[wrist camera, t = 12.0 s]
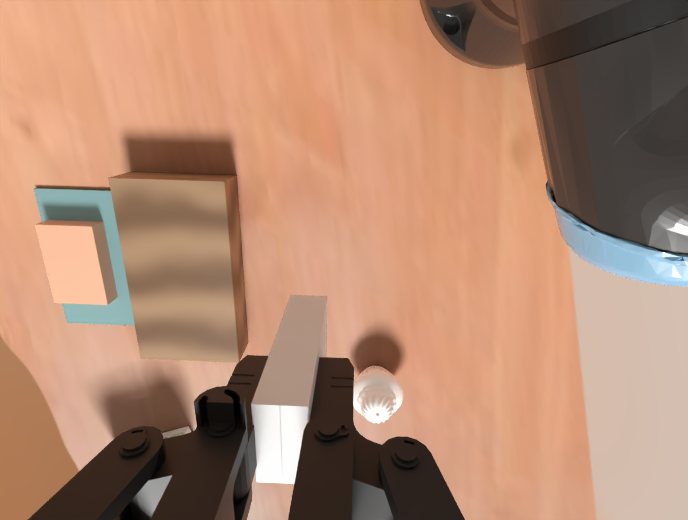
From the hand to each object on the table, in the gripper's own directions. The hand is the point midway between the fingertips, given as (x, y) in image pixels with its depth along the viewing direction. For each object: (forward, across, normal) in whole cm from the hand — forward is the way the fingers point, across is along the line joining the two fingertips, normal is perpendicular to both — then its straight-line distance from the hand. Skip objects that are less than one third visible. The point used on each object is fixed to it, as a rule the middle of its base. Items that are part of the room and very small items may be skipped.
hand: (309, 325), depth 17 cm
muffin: (+27, +5, -22) cm, 35 cm away
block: (+24, -28, -8) cm, 38 cm away
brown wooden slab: (+26, -16, -8) cm, 32 cm away
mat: (+26, -26, -8) cm, 38 cm away
